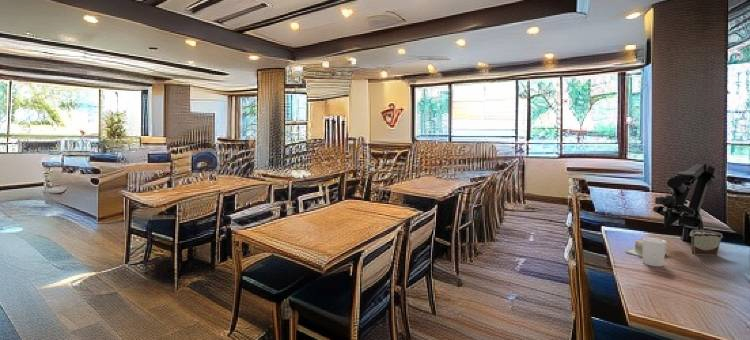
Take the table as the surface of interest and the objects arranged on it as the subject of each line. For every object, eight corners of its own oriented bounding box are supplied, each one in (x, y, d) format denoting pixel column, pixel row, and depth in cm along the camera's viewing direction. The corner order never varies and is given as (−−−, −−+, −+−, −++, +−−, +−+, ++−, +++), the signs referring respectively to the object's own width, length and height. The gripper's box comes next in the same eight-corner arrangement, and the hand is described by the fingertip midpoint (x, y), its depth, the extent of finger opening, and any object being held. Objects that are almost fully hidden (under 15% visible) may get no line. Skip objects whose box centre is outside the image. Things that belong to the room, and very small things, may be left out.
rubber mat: (644, 248, 176) (644, 247, 176) (665, 254, 168) (665, 253, 168) (625, 252, 170) (625, 251, 170) (646, 258, 162) (646, 257, 162)
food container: (709, 251, 173) (712, 229, 172) (720, 255, 167) (723, 233, 166) (681, 250, 174) (683, 228, 173) (690, 254, 168) (693, 232, 167)
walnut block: (651, 237, 174) (635, 240, 169) (663, 240, 170) (647, 243, 165) (650, 248, 175) (634, 251, 170) (662, 251, 170) (646, 254, 165)
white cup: (660, 261, 158) (662, 238, 157) (667, 268, 151) (670, 243, 150) (638, 259, 161) (640, 236, 160) (644, 265, 154) (646, 241, 152)
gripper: (649, 190, 187) (636, 218, 186) (677, 187, 169) (663, 218, 168) (670, 201, 187) (657, 229, 185) (701, 199, 168) (687, 230, 167)
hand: (665, 227), depth 176 cm, fingers closed
